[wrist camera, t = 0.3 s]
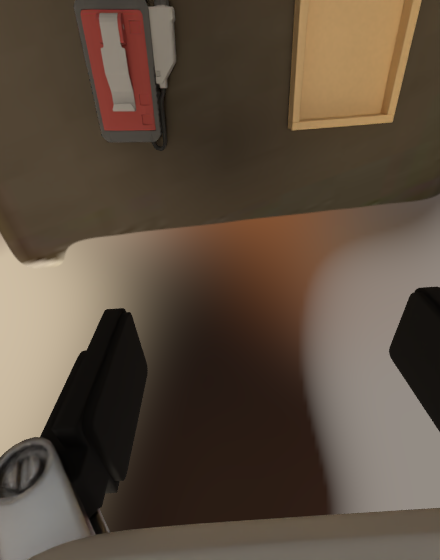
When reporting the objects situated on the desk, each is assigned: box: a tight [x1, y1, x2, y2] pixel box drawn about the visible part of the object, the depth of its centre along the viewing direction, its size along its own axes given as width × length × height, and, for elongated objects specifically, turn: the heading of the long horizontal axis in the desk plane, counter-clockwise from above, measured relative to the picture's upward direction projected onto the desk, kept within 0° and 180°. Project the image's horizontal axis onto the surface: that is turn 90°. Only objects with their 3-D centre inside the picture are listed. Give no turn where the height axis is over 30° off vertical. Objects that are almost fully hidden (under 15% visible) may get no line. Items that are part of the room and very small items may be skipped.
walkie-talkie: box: [74, 0, 176, 151], centre depth 27 cm, size 9×4×20 cm
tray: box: [288, 0, 421, 131], centre depth 28 cm, size 17×11×2 cm, turn 4°
